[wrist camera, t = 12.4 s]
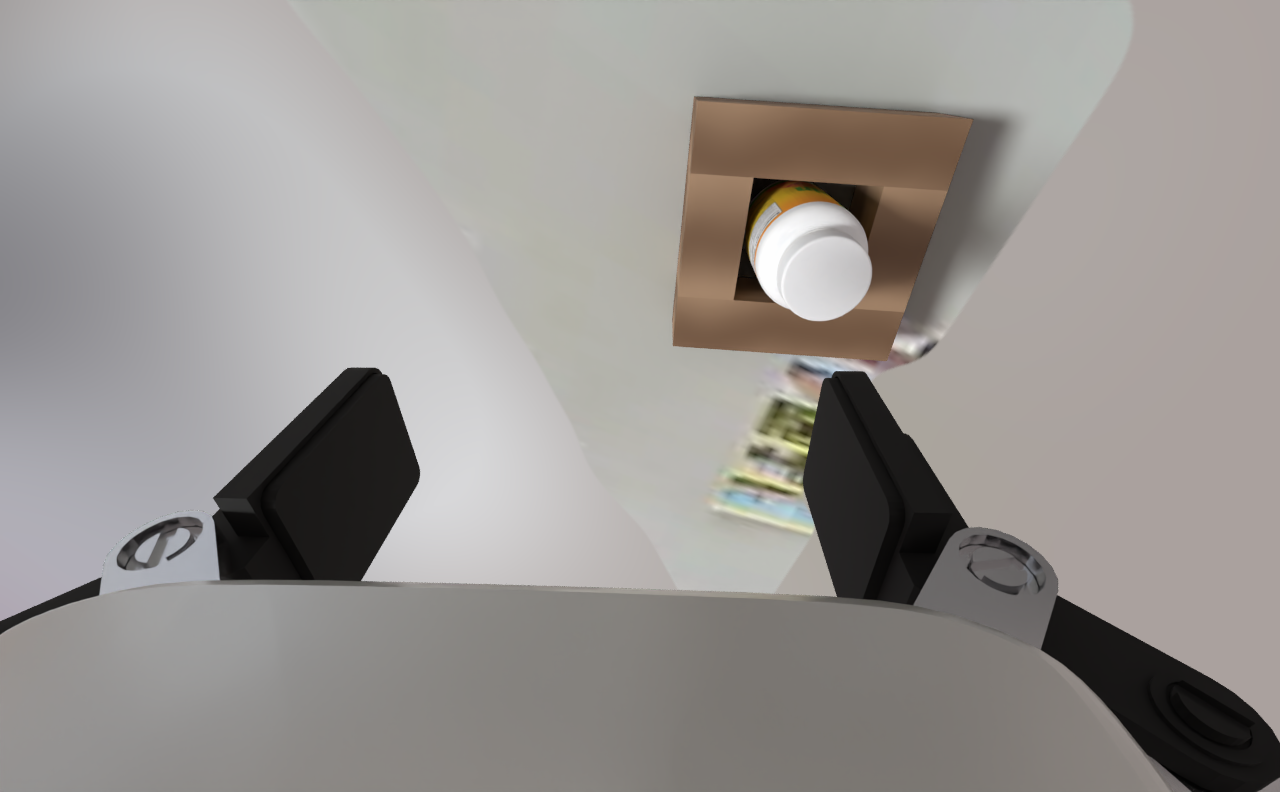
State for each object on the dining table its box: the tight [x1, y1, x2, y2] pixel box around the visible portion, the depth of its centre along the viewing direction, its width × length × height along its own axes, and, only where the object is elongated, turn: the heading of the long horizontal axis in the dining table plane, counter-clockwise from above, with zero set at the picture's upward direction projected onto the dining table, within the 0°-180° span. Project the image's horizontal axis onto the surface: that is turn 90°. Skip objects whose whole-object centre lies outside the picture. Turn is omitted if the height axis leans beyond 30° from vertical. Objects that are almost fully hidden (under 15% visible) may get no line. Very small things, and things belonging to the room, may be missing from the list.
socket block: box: [672, 97, 973, 361], centre depth 30 cm, size 13×13×4 cm
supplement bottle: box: [743, 180, 872, 321], centre depth 27 cm, size 5×5×10 cm
